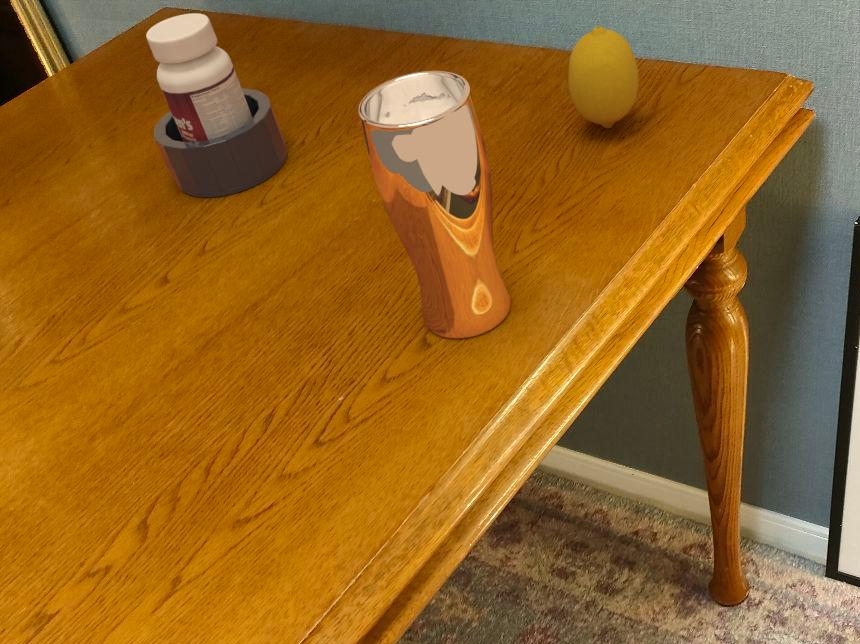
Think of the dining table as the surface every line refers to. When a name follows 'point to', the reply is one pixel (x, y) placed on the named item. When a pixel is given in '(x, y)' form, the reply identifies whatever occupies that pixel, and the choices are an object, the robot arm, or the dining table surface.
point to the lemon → (603, 77)
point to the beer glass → (438, 196)
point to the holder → (225, 153)
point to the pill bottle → (197, 78)
